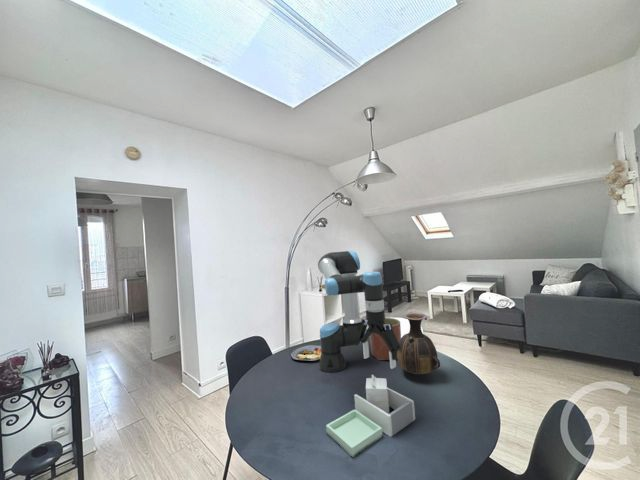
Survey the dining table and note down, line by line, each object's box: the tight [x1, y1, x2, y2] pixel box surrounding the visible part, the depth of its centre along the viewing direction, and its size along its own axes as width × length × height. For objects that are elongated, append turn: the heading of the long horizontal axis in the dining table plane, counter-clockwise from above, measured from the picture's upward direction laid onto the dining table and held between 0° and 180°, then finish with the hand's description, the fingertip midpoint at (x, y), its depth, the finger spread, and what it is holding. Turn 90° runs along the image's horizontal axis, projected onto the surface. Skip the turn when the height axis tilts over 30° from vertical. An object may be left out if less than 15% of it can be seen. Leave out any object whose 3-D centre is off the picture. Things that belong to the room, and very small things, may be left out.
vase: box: [396, 312, 441, 375], centre depth 132 cm, size 23×19×30 cm
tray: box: [325, 409, 384, 458], centre depth 93 cm, size 14×14×3 cm
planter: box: [367, 317, 402, 361], centre depth 158 cm, size 19×19×20 cm
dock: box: [353, 386, 416, 438], centre depth 102 cm, size 18×14×7 cm
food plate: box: [290, 344, 321, 362], centre depth 166 cm, size 25×23×4 cm
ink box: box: [365, 374, 390, 414], centre depth 105 cm, size 9×8×13 cm
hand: (379, 362), depth 106 cm, fingers open, 13 cm apart
